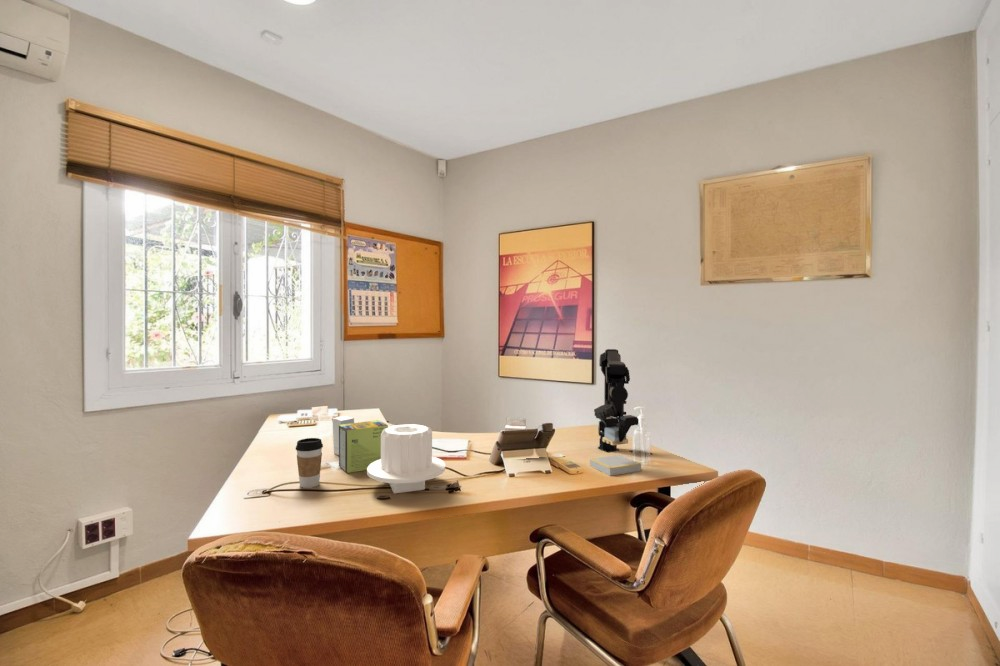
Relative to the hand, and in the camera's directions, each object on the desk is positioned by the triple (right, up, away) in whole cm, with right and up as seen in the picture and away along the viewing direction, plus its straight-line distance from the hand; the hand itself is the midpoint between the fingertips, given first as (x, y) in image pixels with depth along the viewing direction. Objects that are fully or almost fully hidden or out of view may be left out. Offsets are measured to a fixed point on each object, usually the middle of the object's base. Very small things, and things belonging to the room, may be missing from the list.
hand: (615, 439), depth 172 cm
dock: (0, -11, 0) cm, 11 cm away
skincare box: (-105, -10, +15) cm, 107 cm away
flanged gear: (-73, -11, -20) cm, 77 cm away
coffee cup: (-105, -11, -19) cm, 108 cm away
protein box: (-93, -10, +1) cm, 94 cm away
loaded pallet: (0, -1, 0) cm, 1 cm away
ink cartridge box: (-37, -10, +16) cm, 41 cm away
